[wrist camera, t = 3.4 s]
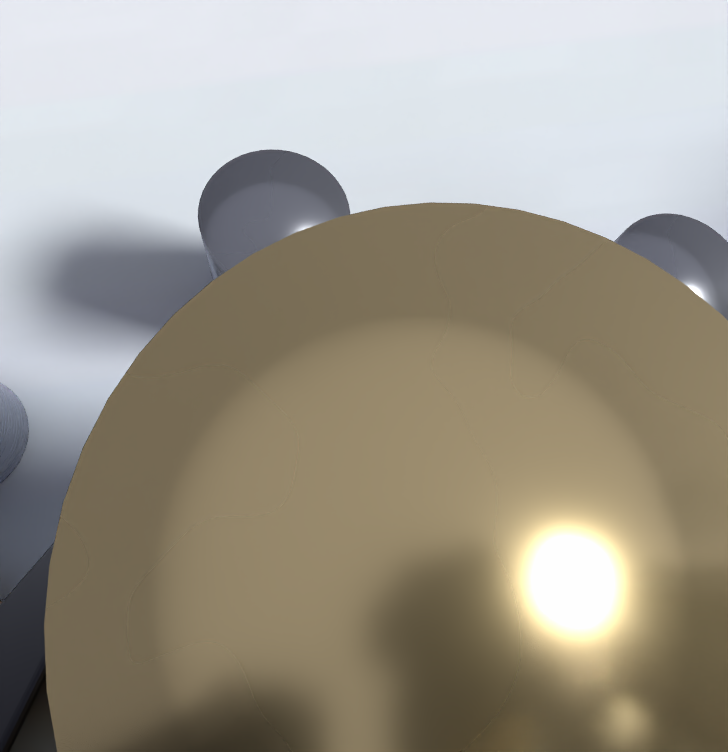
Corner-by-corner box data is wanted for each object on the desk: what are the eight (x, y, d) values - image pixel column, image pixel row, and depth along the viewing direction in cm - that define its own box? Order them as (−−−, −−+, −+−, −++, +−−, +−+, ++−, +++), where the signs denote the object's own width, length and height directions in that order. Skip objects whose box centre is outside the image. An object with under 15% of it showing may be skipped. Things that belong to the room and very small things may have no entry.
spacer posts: (871, 636, 16) (1082, 662, 12) (-130, 494, 14) (-306, 465, 10) (843, 343, 19) (1010, 276, 14) (-20, 191, 17) (-125, 63, 13)
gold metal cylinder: (372, 726, 14) (709, 1357, 3) (187, 605, 15) (-173, 750, 3) (475, 531, 16) (962, 443, 4) (305, 425, 16) (350, 84, 5)
